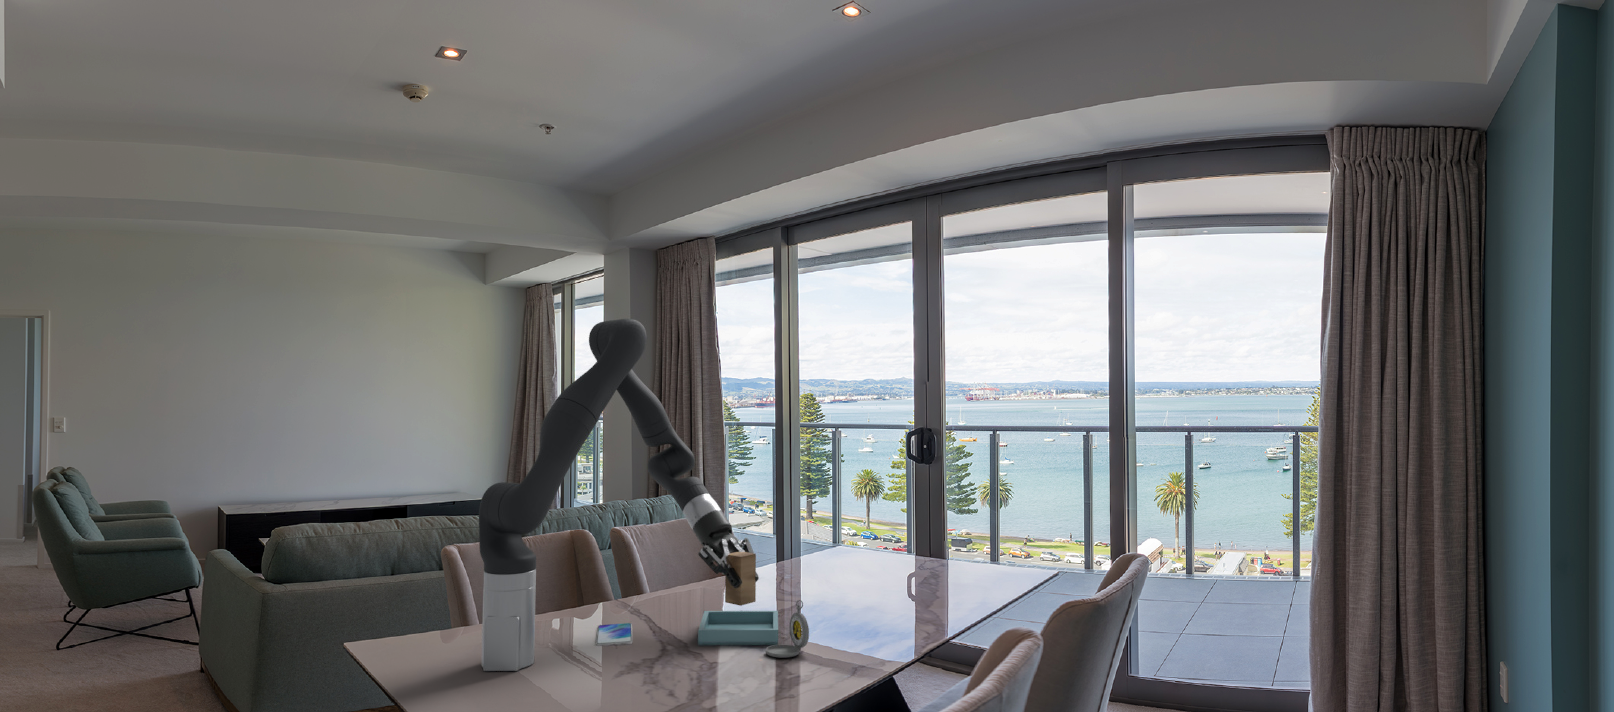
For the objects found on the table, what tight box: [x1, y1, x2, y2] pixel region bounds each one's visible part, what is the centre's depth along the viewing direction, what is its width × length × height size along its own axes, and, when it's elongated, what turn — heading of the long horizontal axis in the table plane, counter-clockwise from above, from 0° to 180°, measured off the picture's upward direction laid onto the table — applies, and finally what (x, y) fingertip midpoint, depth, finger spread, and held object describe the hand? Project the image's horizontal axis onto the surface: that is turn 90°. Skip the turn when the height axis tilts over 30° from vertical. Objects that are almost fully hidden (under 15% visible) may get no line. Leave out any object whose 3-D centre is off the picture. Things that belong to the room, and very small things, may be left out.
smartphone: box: [595, 622, 633, 647], centre depth 183 cm, size 7×1×15 cm
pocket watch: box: [765, 599, 810, 659], centre depth 170 cm, size 8×8×10 cm
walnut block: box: [724, 552, 757, 607], centre depth 184 cm, size 4×4×10 cm
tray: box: [697, 610, 779, 646], centre depth 184 cm, size 16×16×3 cm
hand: (747, 583), depth 183 cm, fingers closed on walnut block, 4 cm apart
